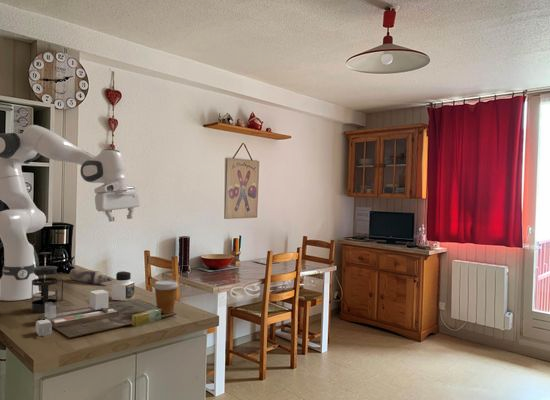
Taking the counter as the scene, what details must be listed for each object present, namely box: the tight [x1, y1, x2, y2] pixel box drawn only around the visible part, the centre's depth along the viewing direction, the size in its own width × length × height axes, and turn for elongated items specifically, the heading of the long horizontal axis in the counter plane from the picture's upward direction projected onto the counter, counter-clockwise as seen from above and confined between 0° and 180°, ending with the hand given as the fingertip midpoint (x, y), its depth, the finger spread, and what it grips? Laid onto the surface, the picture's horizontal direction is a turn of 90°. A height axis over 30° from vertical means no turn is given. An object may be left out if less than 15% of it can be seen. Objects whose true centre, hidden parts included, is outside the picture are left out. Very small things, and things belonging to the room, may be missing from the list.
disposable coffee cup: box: [153, 279, 179, 315], centre depth 167 cm, size 10×10×12 cm
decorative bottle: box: [68, 267, 113, 285], centre depth 215 cm, size 26×8×7 cm, turn 67°
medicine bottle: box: [110, 270, 135, 302], centre depth 185 cm, size 7×7×12 cm
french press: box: [30, 251, 64, 314], centre depth 165 cm, size 12×9×23 cm
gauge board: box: [42, 306, 120, 329], centre depth 157 cm, size 13×23×2 cm, turn 135°
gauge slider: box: [88, 289, 110, 312], centre depth 161 cm, size 10×5×6 cm, turn 45°
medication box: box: [131, 307, 163, 327], centre depth 154 cm, size 12×3×4 cm, turn 147°
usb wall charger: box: [35, 319, 53, 337], centre depth 137 cm, size 4×7×4 cm, turn 41°
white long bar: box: [44, 302, 107, 320], centre depth 157 cm, size 6×21×5 cm, turn 135°
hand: (121, 220), depth 173 cm, fingers open, 8 cm apart
